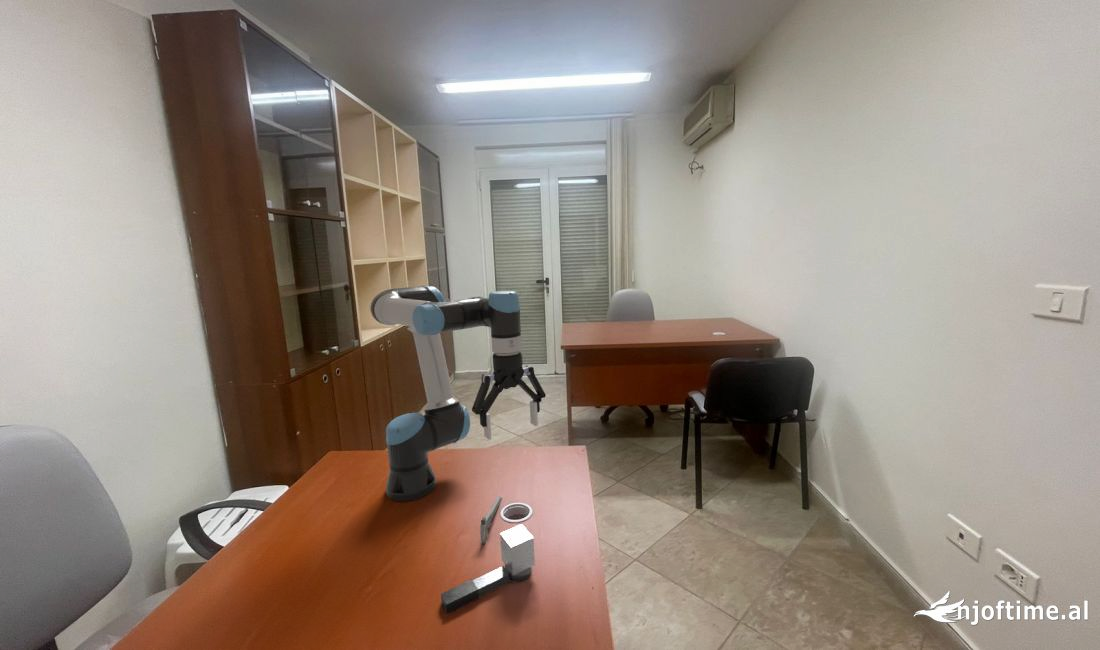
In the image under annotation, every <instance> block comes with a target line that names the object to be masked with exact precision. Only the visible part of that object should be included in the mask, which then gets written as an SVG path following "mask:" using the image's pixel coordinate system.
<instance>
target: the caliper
mask: <svg viewBox="0 0 1100 650" xmlns="http://www.w3.org/2000/svg"><path fill="white" fill-rule="evenodd" d="M502 498H503V497H502V496H497V497H496V499H495V500H494V502H493V504H492V505H491V508H490V510H489V512H488V513H486V514H485V517H482V519H480V530H479V531H480V544H483V545H485V544H486V541H487V540H488V534H489V533H488V531H489V530H488V529H489V527H490V526H491V524H492V519H493V517H494V516H495V513H496V512H497V510H498V508H499V506H500V504H501V503H502V502H501V501H502Z"/></svg>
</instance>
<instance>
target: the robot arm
mask: <svg viewBox="0 0 1100 650" xmlns="http://www.w3.org/2000/svg"><path fill="white" fill-rule="evenodd" d="M369 309H370V310H369V311H370V313H371V316H372V317H373V319H374V320H375V321H376V322H378V323H379V324H383V325H386V326H396V325H401V326H404V327H406V329H407V330H408V331H409V332H411V333H412V334H413V341H414V344H415V348H416V354H417V359H418V363H419V369H420V373H421V377H422V382H423V386H424V391H425V396H426V401H427V403H426V405H425V406H424V408H423V411H424V415H423V414H422V413H421V412H412V413H409V412H408V413H405V414H402V415H399V416H396V417H395V418H393V419H392V420H391V421H390V422H389V423H388V424H387V426H386V428H385V442H386V447H387V449H386V450H387V454H388V455H387V456H388V464H389V472H388V477H387V481H386V483H385V492H386V497H387V498H388V499H390V500H392V501H394V502H410V501H414V500H418V499H420V498H421V499H422V498H423V497H425V496H427V495H428V494H430V493H431V492H432V491H434V489H435V488H436V486H437V477H436V474H435V472H434V471H433V468H432V466H431V464H430V461H429V457H428V456H429V455H428V454H429V453H430V452H432V451H435V450H439V449H440V448H443V447H445V446H448V445H451V444H455V443H457V442H459V441H461V440H464V439H465V438H466V437H467V435H468V434H469V432H470V428H471V416H470V412H469V411H468V409H467V407H466V406H465V405H464V404H461V403H460V400H459V399H458V398H457V397H455V396H454V392H453V388H452V385H451V383H452V382H451V379H450V374H449V369H448V365H447V361H446V356H445V354H446V353H445V349H444V346H443V341H442V336H441V333H443V334H444V333H447V332H453V331H460V330H467V329H472V328H477V327H486V328H487V327H488V328H490V336H491V337H490V339H491V352H492V353H493V354H492V366H493V371H492V372H493V373H492V374H486V373H482V374H481V384H480V386H479V389H478V391H477V394H476V397H475V400H474V402H473V405H472V407H471V412H473V413H474V414H475V416H476V415H477V416H478V415H479V423H480V426H481V427H482V428H483V435H484V437H485V438H486V439H487V440H492V428H491V414H490V413H489V411H490V409H491V408H492V406H493V404H494V402H495V401H496V400H497V398H498V396H499V395H500V393H502V392H503V390H508V389H510V388H516V387H517V386H518V387H520V388H521V389H522V390H523V391H524V392H525V393H526V394H527V395H528V396H529V397H530V398H531V399H530V400H529V414H530V416H529V417H530V419H529V420H530V424H531V425H533V426H534V427H538V426H539V419H538V413H540V411H541V409H540V408H541V407H540V406H541V405H540V403H541V402H542V400H543V399H545V398H546V396H547V395H546V393H545V391H544V389H543V388H542V385H541V383H540V382H539V380H538V378H537V376H536V374H535V369H534V367H533V366H530V365H528V364H527V365H525V367H523V353H522V352H521V351H522V335H521V334H522V332H521V329H522V328H521V305H520V300H519V294H518V292H517V291H514V290H499V291H492V292H490V293H489V294H488V297H483V296H471V297H468V298H467V299H459V300H453V301H446V300H445V298H444V296H443V293H442V292H441V291H440V290H439V289H438V288H437V287H435V286H431V285H421V286H409V287H407V286H406V287H402V288H401V287H400V288H399V287H398V288H390V289H386V290H384V291H381V292H380V293H378V294H376V295H375V296H374V297H373V299H372V300H371V303H370V308H369ZM524 375H526V377H527V379H528V380H529V381H530V384H531V385H532V387H533V389H534V390H535V392H534V390H532V388H531V387H529V385H527V383H526V382H525V381H524V380H523V379H522V378H523V377H524ZM493 381H494V383H493V385H492V386H491V387H492V388H491V389H490V384H492V382H493ZM489 389H490V391H489ZM488 392H489V393H488ZM487 393H488V394H487Z"/></svg>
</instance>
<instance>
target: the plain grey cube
mask: <svg viewBox="0 0 1100 650" xmlns="http://www.w3.org/2000/svg"><path fill="white" fill-rule="evenodd" d="M499 537H500V550H501V551H500V553H501V561H502V563H503V564H504V566H505V565H506V567H507V568H508V570H509V571H510V572H511V574H512V575H515V574H517V573H519V572H521V571H524V570H526V569H528V568H530V567H531V568H532V567H533V566H536V563H535V561H536V559H535V543H534V540H535V539H534V536H533V535H532V534H531V533H530V532H529V531H528V530H527V528H526V527H525V526H524V525H523V524H519V525H516V526H514V527H512V528H510V529H507V530H505V531H502V532H500V533H499Z"/></svg>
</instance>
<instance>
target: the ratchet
mask: <svg viewBox="0 0 1100 650" xmlns="http://www.w3.org/2000/svg"><path fill="white" fill-rule="evenodd" d="M531 575H532V567H530V568H528V569H526V570H524V571H521V572H519V573H517V574H515V575H512V574H511V572H510V571H509V570H508V568H507V567H506V565H505V564H504V565H502V566H500V567H498V568H496V569H494V570H491V571H489V572H487V573H484V574H483V575H481V576H479V577H477V578H475V579H469V580H467V581H465V582H463V583H461V584H459V585H456V586H453V588H450V589H448V590H445V591H443V592H442V593H441V592H440V598H441V604H442V606H443V608H444V610H445V611H444V612H445V613H446V614H447V615H448V614H450V613H452V612H454V611H456V610H458V609H460V608H462V607H464V606H466V605H468V604H470V603H472V602H474V601H477V600H478V599H479V598H480V597H483V596H485V595H487V594H488V593H491V592H493V591H494V590H496V589H499V588H500V587H503V586H505V585H507V584H508V583H511V582H514V583H521V582H524V581H526V580H527V579H529V578H530V576H531Z"/></svg>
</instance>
